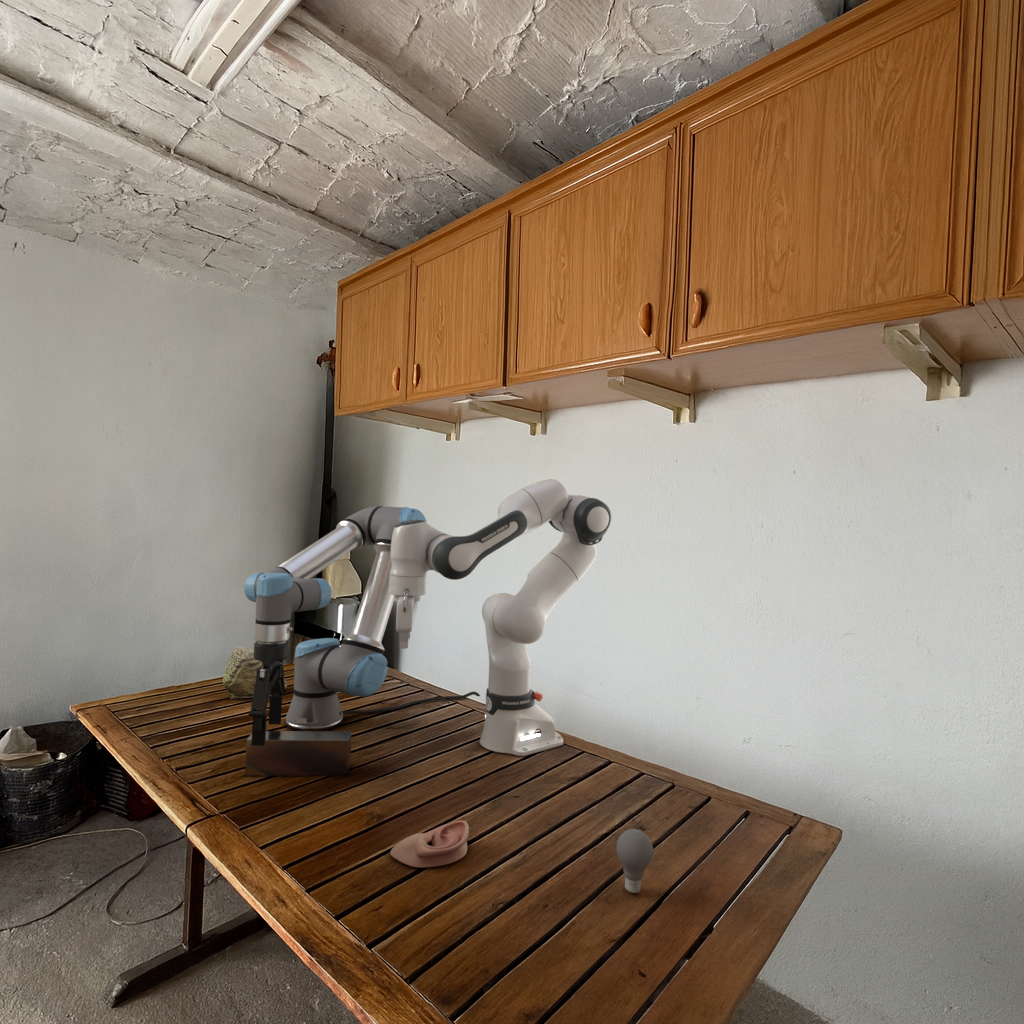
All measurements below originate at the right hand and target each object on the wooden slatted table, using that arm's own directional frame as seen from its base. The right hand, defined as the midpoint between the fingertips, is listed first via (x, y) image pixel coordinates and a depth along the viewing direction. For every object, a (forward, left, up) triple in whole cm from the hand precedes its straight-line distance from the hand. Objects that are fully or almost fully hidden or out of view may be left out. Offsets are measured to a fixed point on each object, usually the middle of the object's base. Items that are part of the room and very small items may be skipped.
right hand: (405, 643), depth 154 cm
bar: (+23, -2, -28) cm, 37 cm away
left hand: (+30, -5, -20) cm, 37 cm away
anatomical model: (+7, +41, -28) cm, 50 cm away
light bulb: (-20, +65, -28) cm, 74 cm away
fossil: (+28, -63, -28) cm, 75 cm away
